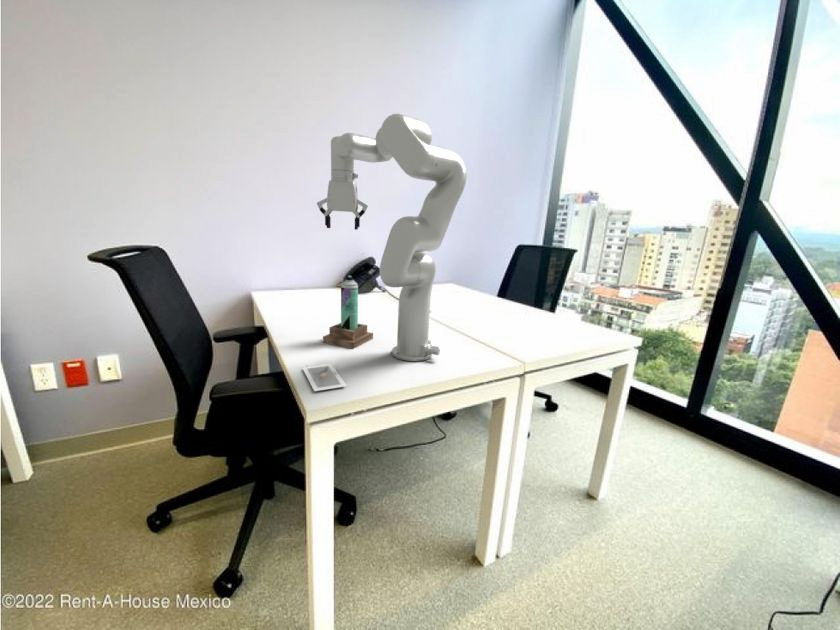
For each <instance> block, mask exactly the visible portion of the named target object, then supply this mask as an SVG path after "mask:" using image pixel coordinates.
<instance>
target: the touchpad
mask: <svg viewBox="0 0 840 630" xmlns="http://www.w3.org/2000/svg"><path fill="white" fill-rule="evenodd" d="M302 370H303V372H304V375H305V376H306V377H307V380H308V382H309V383H310V386H311V387H312V389H313V391H314V392H317V391H325V390H331V389H337V388H343V387H347V386H348V385H347V384H346V382H345V381H344V380H343V379H342V377H341V375H340V374H339V373H338V372H337V370H336V368H335V367H334V366H333V365H332V364H331V363H329V364H327V363H326V364H322V365H314V366H313V365H312V366H307V367H302Z"/></svg>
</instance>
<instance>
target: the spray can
mask: <svg viewBox="0 0 840 630" xmlns="http://www.w3.org/2000/svg"><path fill="white" fill-rule="evenodd" d="M358 313H359V284H358V282H356V281H355V279H354V278H353V276H352V275H347V276H346V279H345V280H344V281H343V282H341V285H340V323H341V328H342V329H347V330H353V329H356V328H358V324H359V319H358V318H359V317H358V315H359V314H358Z"/></svg>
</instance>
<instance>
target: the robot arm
mask: <svg viewBox="0 0 840 630" xmlns="http://www.w3.org/2000/svg"><path fill="white" fill-rule="evenodd" d="M432 136H433V135H432V131H431V129H430V127H429V125H427V124H426V122H424V121H422V120H420V119H417V118H413V117H411V116H407V115H405V114H402V113H392V114H390V115H388V116H387V117H386V118H385V119H384V120H383V122H382V124H381V127H380V128H379V129H378V130H377V132H376V134H375V137H370V136H366V135H362V134H358V133H355V132H346V133H343V134H341V135H339V136H333V137H332V138H331V140H330V180H329V181H328V184H327V193H326V194H327V196H326V197H325V198H324V199H323V198H322V199H321V200H319V201H318V202H316V205H317V207H318V209H319V211H320V212H321V213H322V215H323V216H324V225H325V226H326V229H331V227H332V226H331V219H332V218H331V216H330V215H331V213H332V212H343V213H344V212H345V213H346V212H347V213H348V212H349V213H353V215H354V216H355V218H354V230H356V231H357V230H358V229H359V228H360V224H361V223H360V222H361V219H360V218H361V217H362V216H363V215H364V214H365V213H366V211H367V209H368V207H369V206H368V204H366V203H364V202H362V201H361V200H359V198H358V197H359V196H358V187H357V182H356V181H355V180H356V179H359V174H357V173H355V170H354V168H355V167H354V166H355V165H354V164H355V162H354V161H361V162H366V163H371V164H372V163H374V164H375V163H381V162H389V161H390V160H391V159H394V160H395V162H396V163H397V165H398V166H399V167H400V169H401V170H402V171H403V172H404V173H405V174H406V175H408V177H410V178H413V179H418V180H423V181H430V182H435V185H434V187H433V188H432V189H430V191H429V192H428V193H427V195H426V197H425V199H424V201H423V204H422V207H421V209H420V212H419V213H418V215H416V216H415V215H414V216H411V215H409V216H408V215H407V216H402V217H401V218H399V219H397V220H396V221H395V222H394V223H393V225H392V226H391V229H390V231H389V235H388V237H387V240H386V244H385V245H384V246H385V247H384V250H383V253H382V256H381V260H380V265H379V275H380V279H381V281H382V283H383V284H384V285H385V286H387V287H389V288H401V290H400V293H399V296H398V297H399V298H398V307H397V311H398V313H397V335H396V336H397V338H396V346H394V347H393V348H392V349H391V354H392V357H395V359H398V360H402V361H407V362H421V361H427V360H429V359H430V358H432V356H433V355H435V356H439V355H440V352H441V349H440V348H439V346H436V345H432V341H431V340H430V339H429V328H430V327H429V325H430V311H431V310H430V308H431V297H432V289H433V285H434V280H435V276H436V271H437V270H436V264H435V260H434V258H432V257H431V256H430V255H429V254H427V253H430V252H434V251H436V250H438V249H439V248H440V247H441V245H442V242H443V240H444V238H445V235H446V233H447V230H448V227H449V225H450V223H451V220H452V217H453V214H454V211H455V209H456V206H457V205H458V202H459V201H460V198H461V197H462V195H463V193H464V189H465V187H466V181H467V169H466V166H465V163H464V161H463V160H462V158H461V157H460V156H459V154H457V153H456V152H454V151H452V150H450V149H447V148H444V147H442V146H441V147H439V146H436V145H433V144H432V140H433V139H432V138H433V137H432ZM325 204H326V206H327V209H325V208H324V206H323V205H325ZM359 206H361V207H362V209H361V210H360V211H359V212H358V210H359Z"/></svg>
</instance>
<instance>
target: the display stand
mask: <svg viewBox="0 0 840 630" xmlns="http://www.w3.org/2000/svg"><path fill="white" fill-rule="evenodd" d="M373 339H374V333H373V332H369V331H368V324H362V323H358V328H356V329H353V330H347V329H342V328H341V322H340V323H337V324H335V325H332V326H329V333H327V334H325V335H323V336H322V342H323V343H325V344H328V345H329V344H330V345H335V346H338V345H339V346H340V347H343V346H344V347H345V348H350V349H354V348H355V349H357V348H358V347H360V346H363V345H364V344H366V343H368V342H369V341H371V340H373Z"/></svg>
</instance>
